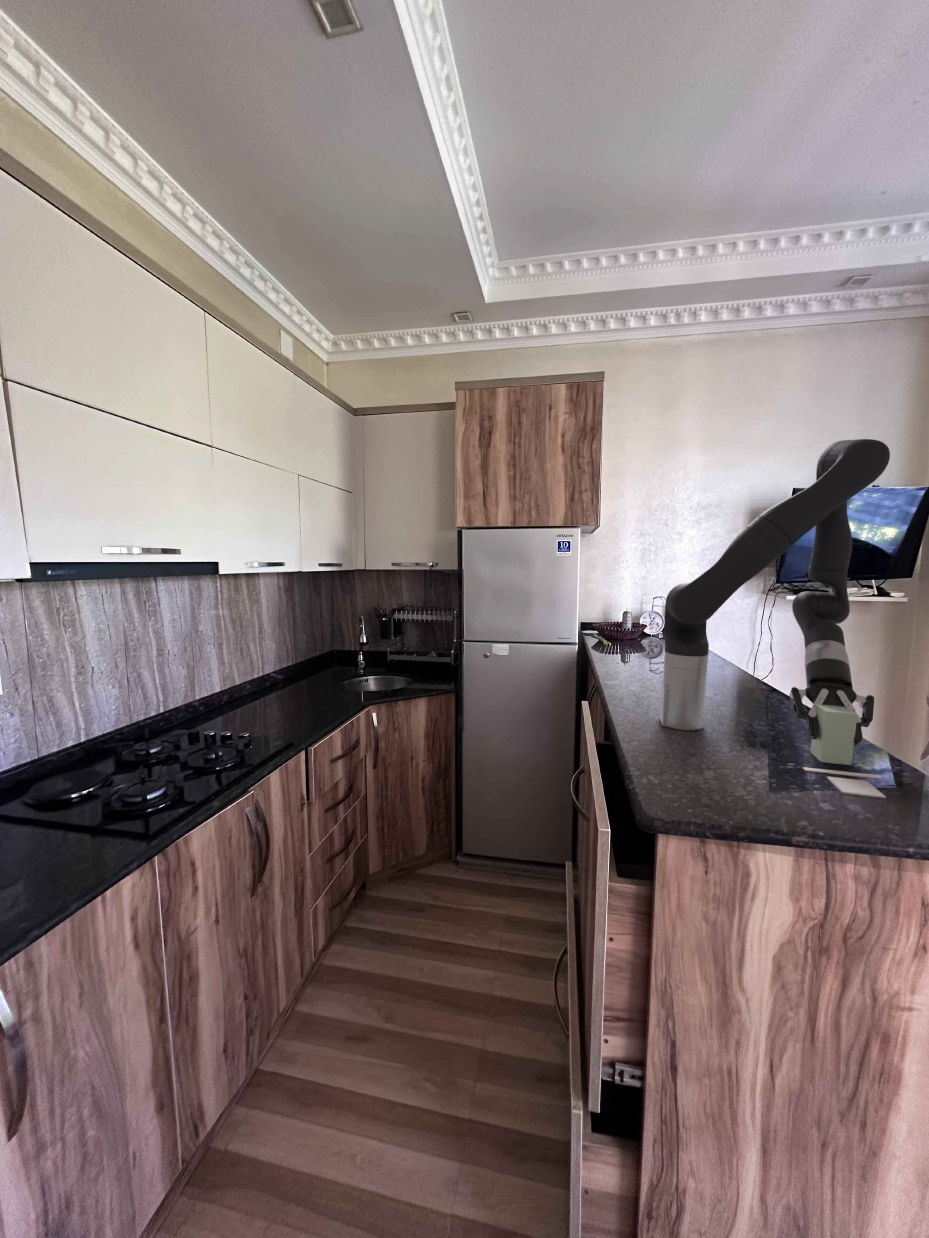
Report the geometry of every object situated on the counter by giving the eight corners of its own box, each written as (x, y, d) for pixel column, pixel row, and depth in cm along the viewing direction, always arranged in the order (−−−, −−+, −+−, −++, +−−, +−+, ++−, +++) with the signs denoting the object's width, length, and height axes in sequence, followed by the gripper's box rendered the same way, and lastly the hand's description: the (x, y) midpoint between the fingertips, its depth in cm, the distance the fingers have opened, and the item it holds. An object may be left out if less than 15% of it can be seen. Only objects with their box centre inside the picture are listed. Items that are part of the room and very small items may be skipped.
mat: (842, 793, 81) (842, 791, 81) (826, 777, 87) (826, 776, 87) (885, 798, 80) (885, 796, 80) (866, 782, 85) (866, 780, 85)
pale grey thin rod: (805, 770, 90) (805, 769, 90) (802, 768, 91) (802, 767, 91) (882, 779, 87) (882, 778, 87) (879, 776, 88) (879, 775, 88)
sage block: (820, 761, 94) (826, 711, 93) (810, 752, 99) (815, 704, 97) (851, 765, 92) (857, 714, 91) (839, 755, 97) (844, 706, 96)
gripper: (789, 653, 103) (794, 725, 94) (875, 660, 97) (889, 738, 88) (783, 673, 108) (787, 742, 99) (864, 680, 102) (876, 755, 93)
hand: (835, 740), depth 93 cm, fingers closed on sage block, 5 cm apart
